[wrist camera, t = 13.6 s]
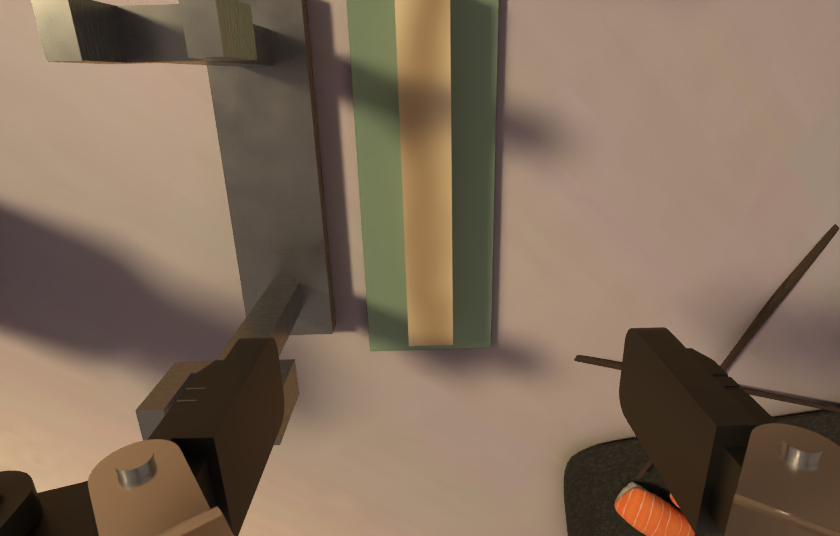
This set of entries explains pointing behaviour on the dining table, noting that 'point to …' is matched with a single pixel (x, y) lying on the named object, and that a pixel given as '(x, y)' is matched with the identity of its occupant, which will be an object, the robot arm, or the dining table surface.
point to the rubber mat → (383, 169)
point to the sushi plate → (634, 471)
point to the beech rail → (426, 166)
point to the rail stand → (234, 151)
